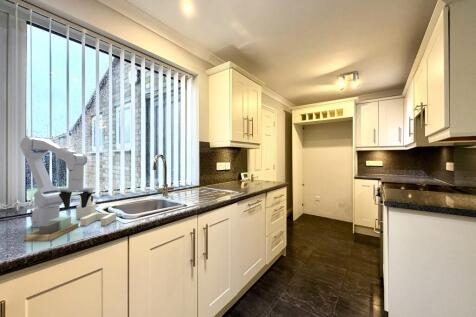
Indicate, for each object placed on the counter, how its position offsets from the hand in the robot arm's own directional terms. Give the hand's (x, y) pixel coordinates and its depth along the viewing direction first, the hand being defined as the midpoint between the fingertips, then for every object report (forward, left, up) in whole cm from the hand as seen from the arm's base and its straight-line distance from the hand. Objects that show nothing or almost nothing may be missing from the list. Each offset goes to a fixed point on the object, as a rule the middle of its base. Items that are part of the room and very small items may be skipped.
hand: (75, 207), depth 98 cm
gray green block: (-4, -7, -9) cm, 12 cm away
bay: (+7, +7, -10) cm, 14 cm away
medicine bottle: (-6, +17, -10) cm, 20 cm away
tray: (-4, -8, -10) cm, 13 cm away
